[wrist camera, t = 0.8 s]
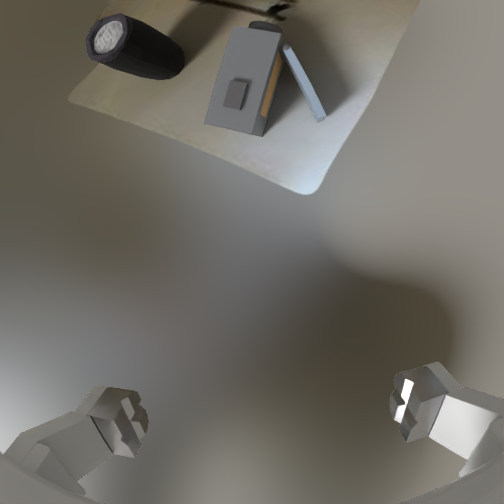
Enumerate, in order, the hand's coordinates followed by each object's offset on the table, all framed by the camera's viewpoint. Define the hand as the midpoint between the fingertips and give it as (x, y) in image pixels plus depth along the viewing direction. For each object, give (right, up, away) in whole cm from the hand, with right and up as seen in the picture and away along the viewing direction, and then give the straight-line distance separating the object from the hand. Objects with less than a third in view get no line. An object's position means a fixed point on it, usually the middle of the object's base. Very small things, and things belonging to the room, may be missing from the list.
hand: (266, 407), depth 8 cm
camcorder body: (0, +33, +34) cm, 48 cm away
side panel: (+8, +31, +32) cm, 45 cm away
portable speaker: (-16, +41, +35) cm, 56 cm away
